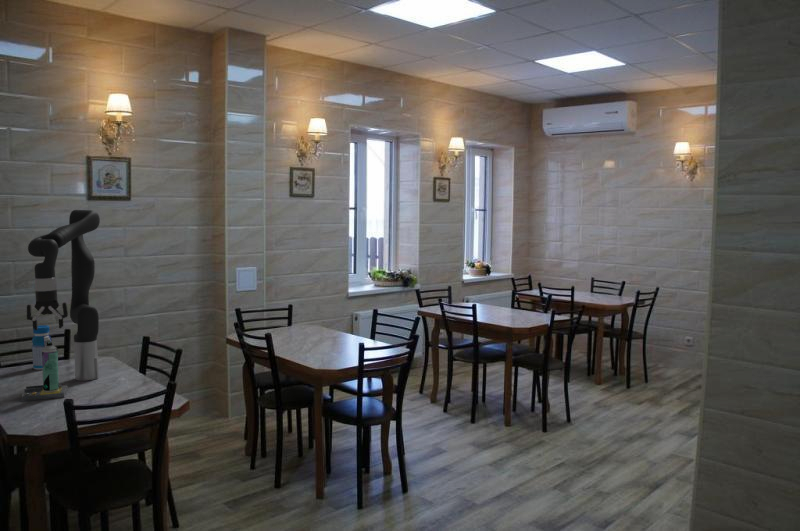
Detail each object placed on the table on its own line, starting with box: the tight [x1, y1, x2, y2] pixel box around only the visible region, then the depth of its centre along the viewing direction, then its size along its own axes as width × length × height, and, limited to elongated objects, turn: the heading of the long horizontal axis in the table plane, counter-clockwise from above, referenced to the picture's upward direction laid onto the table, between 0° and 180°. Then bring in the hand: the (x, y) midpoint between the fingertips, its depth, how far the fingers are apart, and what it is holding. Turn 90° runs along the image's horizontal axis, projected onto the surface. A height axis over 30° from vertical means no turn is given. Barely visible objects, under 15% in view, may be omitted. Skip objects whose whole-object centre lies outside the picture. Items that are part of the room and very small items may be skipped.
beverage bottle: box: [31, 324, 53, 371], centre depth 302 cm, size 8×8×20 cm
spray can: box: [42, 341, 60, 393], centre depth 257 cm, size 6×6×20 cm
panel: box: [21, 383, 68, 402], centre depth 259 cm, size 15×12×3 cm
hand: (48, 329), depth 255 cm, fingers open, 8 cm apart
